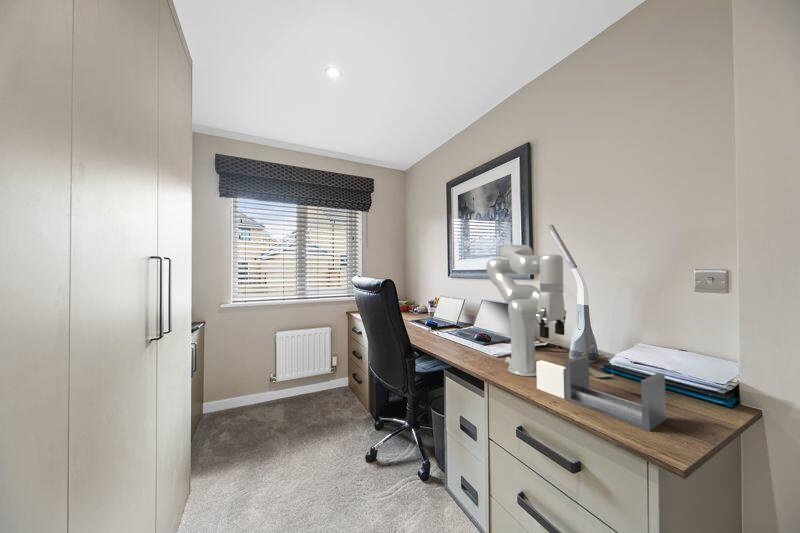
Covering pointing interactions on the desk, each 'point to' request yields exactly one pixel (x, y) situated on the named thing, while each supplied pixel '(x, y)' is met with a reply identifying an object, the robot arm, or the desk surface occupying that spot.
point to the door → (551, 378)
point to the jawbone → (593, 371)
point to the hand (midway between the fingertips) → (552, 336)
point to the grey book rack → (616, 407)
